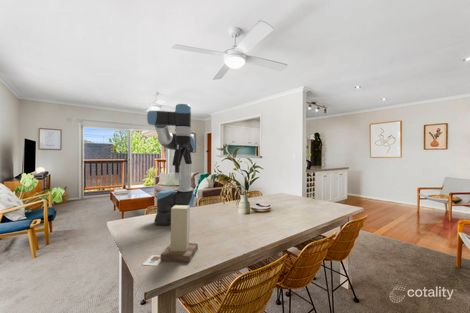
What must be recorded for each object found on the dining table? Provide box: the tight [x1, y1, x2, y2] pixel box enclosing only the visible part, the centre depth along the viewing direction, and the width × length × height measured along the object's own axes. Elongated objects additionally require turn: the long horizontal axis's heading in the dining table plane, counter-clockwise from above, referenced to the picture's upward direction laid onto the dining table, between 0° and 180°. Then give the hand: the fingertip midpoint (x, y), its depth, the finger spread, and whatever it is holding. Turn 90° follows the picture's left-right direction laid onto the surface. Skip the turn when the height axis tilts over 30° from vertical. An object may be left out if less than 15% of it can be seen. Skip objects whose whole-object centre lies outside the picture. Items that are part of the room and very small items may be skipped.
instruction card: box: [141, 254, 162, 267], centre depth 100 cm, size 9×7×1 cm
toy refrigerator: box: [170, 205, 191, 252], centre depth 106 cm, size 8×7×21 cm
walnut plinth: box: [159, 242, 199, 264], centre depth 106 cm, size 14×14×3 cm
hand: (182, 177), depth 107 cm, fingers open, 13 cm apart
